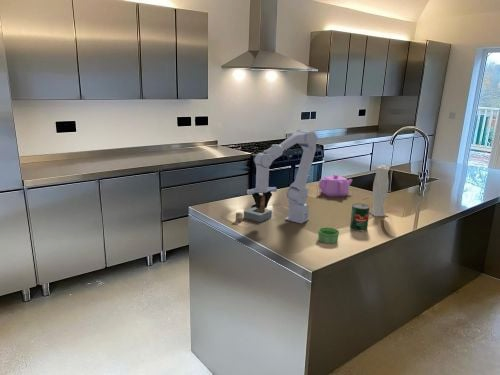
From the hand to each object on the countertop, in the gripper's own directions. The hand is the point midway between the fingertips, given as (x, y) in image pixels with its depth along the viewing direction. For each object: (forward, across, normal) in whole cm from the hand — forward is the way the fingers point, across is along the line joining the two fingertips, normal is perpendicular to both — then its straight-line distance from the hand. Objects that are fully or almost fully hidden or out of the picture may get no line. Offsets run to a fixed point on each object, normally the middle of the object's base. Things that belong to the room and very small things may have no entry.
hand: (261, 207), depth 172 cm
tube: (+10, +14, +28) cm, 33 cm away
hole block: (+9, +4, +11) cm, 15 cm away
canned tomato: (+9, +42, -20) cm, 47 cm away
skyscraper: (+9, +64, -10) cm, 66 cm away
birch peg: (+9, -6, +10) cm, 15 cm away
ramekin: (+9, +19, -26) cm, 34 cm away
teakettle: (+10, +70, +33) cm, 78 cm away
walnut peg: (+2, 0, 0) cm, 2 cm away
